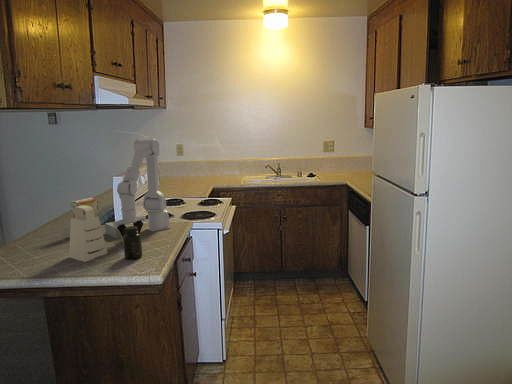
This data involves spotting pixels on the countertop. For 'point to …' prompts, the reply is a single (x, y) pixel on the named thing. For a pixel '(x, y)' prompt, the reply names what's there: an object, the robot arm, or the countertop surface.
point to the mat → (120, 240)
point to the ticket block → (112, 230)
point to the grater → (86, 235)
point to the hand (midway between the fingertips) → (131, 239)
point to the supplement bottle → (132, 243)
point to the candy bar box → (86, 202)
